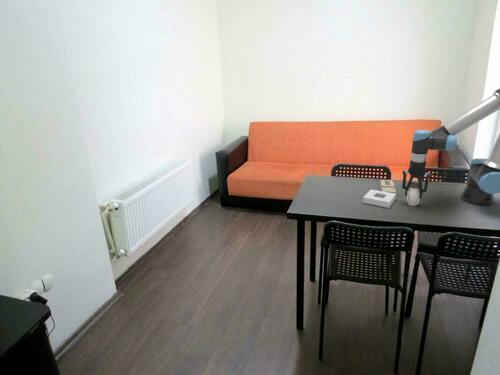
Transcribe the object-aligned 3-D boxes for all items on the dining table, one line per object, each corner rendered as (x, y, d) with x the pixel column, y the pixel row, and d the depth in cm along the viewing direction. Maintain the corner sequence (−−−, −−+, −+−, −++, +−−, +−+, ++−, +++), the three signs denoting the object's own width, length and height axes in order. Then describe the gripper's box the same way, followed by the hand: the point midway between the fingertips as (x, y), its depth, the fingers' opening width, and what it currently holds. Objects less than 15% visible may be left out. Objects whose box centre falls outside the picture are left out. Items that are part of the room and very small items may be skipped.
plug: (417, 203, 189) (420, 182, 185) (416, 206, 185) (419, 185, 181) (408, 201, 191) (411, 181, 187) (406, 204, 188) (409, 183, 184)
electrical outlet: (383, 189, 200) (380, 179, 216) (382, 196, 201) (379, 185, 217) (396, 190, 198) (392, 180, 214) (395, 197, 199) (392, 186, 215)
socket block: (395, 199, 195) (396, 193, 193) (388, 208, 184) (389, 202, 183) (370, 195, 202) (370, 189, 201) (362, 203, 192) (363, 197, 190)
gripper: (438, 161, 178) (431, 203, 186) (402, 156, 187) (397, 197, 195) (435, 164, 172) (429, 208, 180) (398, 160, 182) (393, 201, 190)
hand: (412, 202), depth 188 cm, fingers closed on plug, 4 cm apart
